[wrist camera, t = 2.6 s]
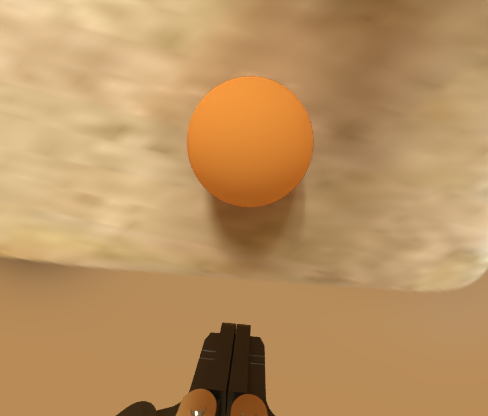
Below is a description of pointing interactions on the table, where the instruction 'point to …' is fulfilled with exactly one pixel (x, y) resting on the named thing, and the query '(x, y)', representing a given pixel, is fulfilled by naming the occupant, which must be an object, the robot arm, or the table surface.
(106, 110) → the table surface
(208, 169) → the ball
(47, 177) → the table surface
